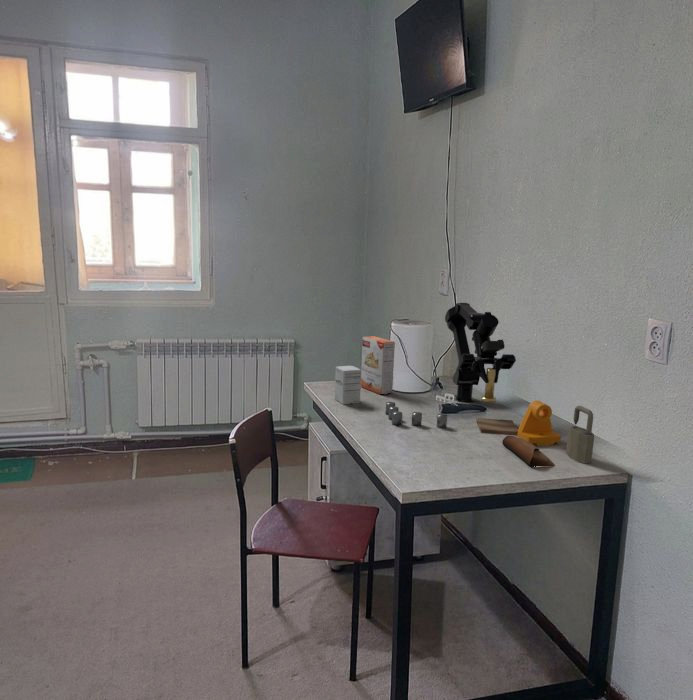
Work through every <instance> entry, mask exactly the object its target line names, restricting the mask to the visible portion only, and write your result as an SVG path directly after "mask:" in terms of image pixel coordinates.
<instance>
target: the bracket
mask: <svg viewBox="0 0 693 700" xmlns="http://www.w3.org/2000/svg"><path fill="white" fill-rule="evenodd" d="M552 413H553V411H552V408H551V406H550V405H548V404H546V403H544V402H542V401H540V400H534V401H532V402H530V403H529V405H528V407H527V409H526V411H525V414H524V416H523V418H522V420H521V422H520V425H519V427H518V428H517V429H518V435H517V436H518V438H521V439H523V440H525V441H527V442H529V443H531V444H533V445H535V446H536V447H539V446H554V445H555V443H560V442H561V437H562V435H561V434H559V433H557V432H555V431H554V430H553V426H552V422H551V417H552Z"/></svg>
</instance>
